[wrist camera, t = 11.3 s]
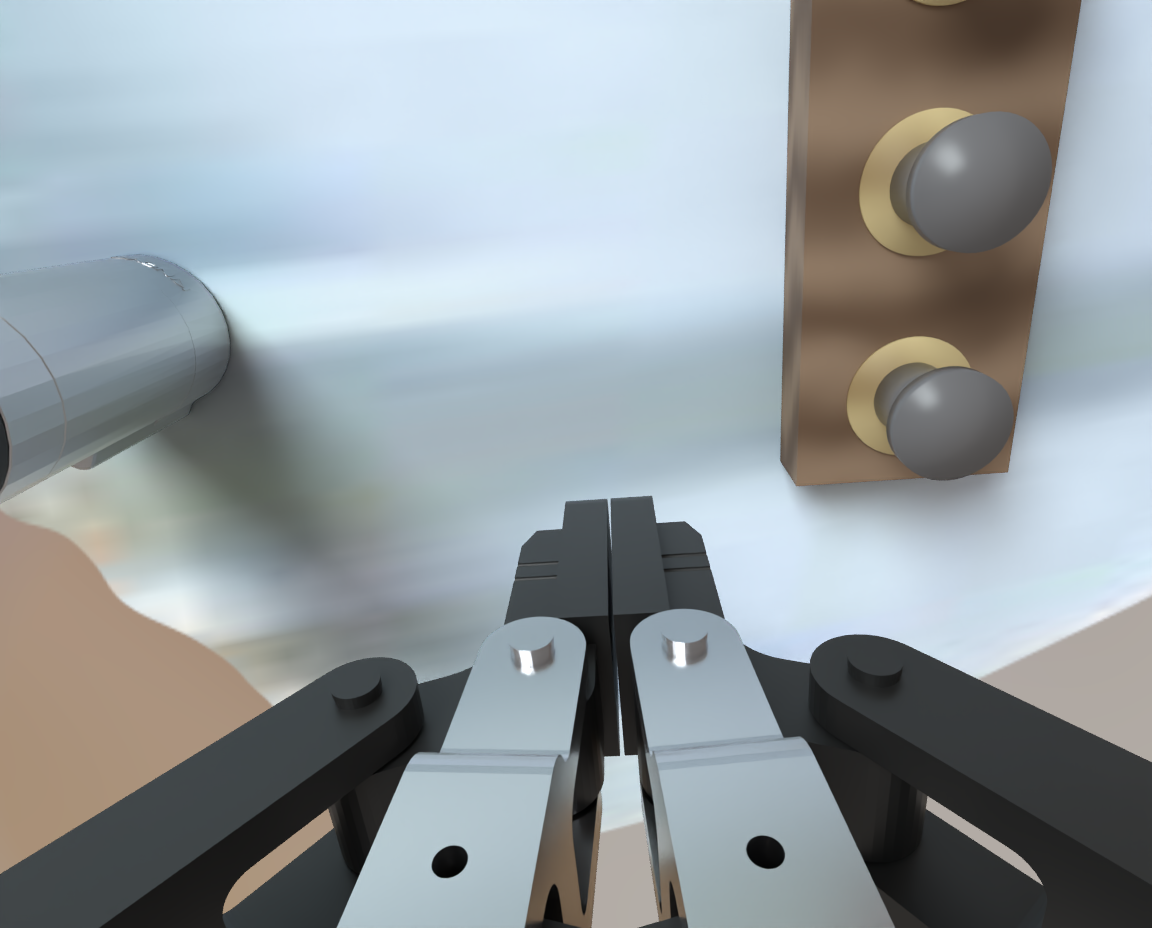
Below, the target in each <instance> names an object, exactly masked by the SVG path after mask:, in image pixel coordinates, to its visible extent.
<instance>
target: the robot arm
mask: <svg viewBox="0 0 1152 928" xmlns="http://www.w3.org/2000/svg"><path fill="white" fill-rule="evenodd" d="M229 354H230V339H229V333H228V327H227V324H226V322H225V319H224V316H223V314H222V311H221V309H220V308H219V306H218V304H217V303H216V301H215V299H214V298H213V296H212V295H211V294H210V292H209V291H208V290H207V289H206V288H205V287H204V285H203V284H202V283H201V282H200V281H199V280H197V279H196V278H195V277H194V276H192V275H191V274H190V273H189V272H188V271H186V270H184V269H183V268H181V267H179V266H177V265H176V264H174V263H172V262H169V261H167V260H164V259H161V258H158V257H154V256H147V255H128V256H116V257H111V258H107V259H100V260H93V261H85V262H78V263H71V264H65V265H58V266H52V267H45V268H38V269H32V270H25V271H18V272H12V273H5V274H0V504H1V503H3V502H5V501H7V500H9V499H11V498H12V497H14V496H16V495H18V494H20V493H22V492H24V491H26V490H27V489H29V488H31V487H33V486H35V485H36V484H38V483H40V482H42V481H44V480H46V479H48V478H49V477H51V476H53V475H55V474H57V473H59V472H61V471H63V470H64V469H66V468H68V467H70V466H72V467H74V468H77V469H80V470H88V469H91V468H94V467H95V466H97V465H99V464H101V463H103V462H104V461H106V460H108V459H110V458H112V457H113V456H115V455H117V454H119V453H121V452H122V451H124V450H126V449H128V448H130V447H131V446H133V445H135V444H137V443H138V442H140V441H142V440H144V439H146V438H147V437H149V436H151V435H153V434H155V433H156V432H158V431H160V430H162V429H164V428H165V427H167V426H169V425H171V424H173V423H174V422H176V421H178V420H180V419H182V418H183V417H185V416H187V415H188V414H189V412H190V408H191V405H192V403H193V402H194V401H195V400H197V399H198V398H200V397H202V396H204V395H205V394H207V393H209V392H210V391H211V390H212V389H213V388H214V387H215V386H216V385H217V384H218V383H219V381H220V379H221V378H222V376H223V374H224V373H225V371H226V367H227V364H228V360H229ZM611 537H612V550H611ZM611 537H610V524H609V512H608V502H607V499H598V500H583V501H567V502H566V503H565V511H564V520H563V528H562V529H558V530H542V531H537V532H536V533H535V534H534V535H533V536H532V537H531V538H530V539H529V540H528V541H527V542H526V543H525V544H524V545H523V546H522V548H521V552H520V557H519V561H518V567H517V570H516V575H515V581H514V583H513V588H512V592H511V597H510V601H509V606H508V610H507V615H506V619H505V624H504V626H502V627H500V628H498V629H497V630H495V631H494V632H492V633H491V634H490V635H489V636H488V637H487V638H486V639H485V640H484V642H483V643H482V645H481V647H480V649H479V652H478V654H477V657H476V660H475V662H474V665H473V666H472V667H471V668H469V669H466V670H464V671H462V672H459V673H456V674H453V675H450V676H447V677H443V678H439V679H436V680H432V681H428V682H425V683H421V684H418V683H417V679H416V675H415V673H414V671H413V670H412V668H411V667H410V666H408V665H407V664H406V663H404V662H402V661H400V660H396V659H392V658H384V657H378V658H367V659H362V660H357V661H354V662H351V663H348V664H345V665H342V666H340V667H338V668H336V669H334V670H332V671H330V672H328V673H327V674H325V675H324V676H322V677H320V678H319V679H317V680H315V681H314V682H312V683H311V684H309V685H307V686H306V687H304V688H302V689H301V690H299V691H297V692H296V693H294V694H293V695H291V696H289V697H288V698H286V699H284V700H283V701H281V702H280V703H278V704H276V705H275V706H273V707H271V708H270V709H268V710H267V711H265V712H263V713H262V714H260V715H259V716H257V717H255V718H254V719H252V720H250V721H249V722H247V723H245V724H244V725H242V726H241V727H239V728H237V729H236V730H234V731H233V732H231V733H229V734H228V735H226V736H224V737H223V738H221V739H219V740H218V741H216V742H214V743H213V744H211V745H210V746H208V747H206V748H205V749H203V750H201V751H200V752H198V753H197V754H195V755H193V756H192V757H190V758H189V759H187V760H185V761H184V762H182V763H180V764H179V765H177V766H175V767H174V768H172V769H171V770H169V771H167V772H166V773H164V774H162V775H161V776H159V777H157V778H156V779H154V780H153V781H151V782H149V783H148V784H146V785H144V786H143V787H141V788H140V789H138V790H136V791H135V792H133V793H132V794H130V795H128V796H127V797H125V798H123V799H122V800H120V801H119V802H117V803H115V804H114V805H112V806H110V807H109V808H107V809H105V810H104V811H102V812H101V813H99V814H97V815H96V816H94V817H92V818H91V819H89V820H88V821H86V822H84V823H83V824H81V825H79V826H78V827H76V828H75V829H73V830H71V831H70V832H68V833H66V834H65V835H63V836H61V837H60V838H58V839H57V840H55V841H53V842H52V843H50V844H48V845H47V846H45V847H44V848H42V849H40V850H39V851H37V852H36V853H34V854H32V855H31V856H29V857H27V858H26V859H24V860H22V861H21V862H19V863H18V864H16V865H14V866H13V867H11V868H9V869H8V870H6V871H4V872H3V873H1V874H0V928H591V926H592V914H593V904H594V893H595V882H596V872H597V871H596V870H597V860H598V850H599V839H600V828H601V817H602V796H601V788H602V785H603V782H604V756H620V739H619V704H618V679H619V691H620V703H621V715H622V727H623V740H624V752H625V755H638V762H639V775H640V789H641V802H642V812H643V818H644V825H645V831H646V838H647V845H648V851H649V858H650V864H651V871H652V877H653V884H654V891H655V897H656V903H657V910H658V917H659V922H656V923H653V924H649V925H646V926H643V927H639V928H1152V762H1150V761H1148V760H1146V759H1143V758H1141V757H1139V756H1137V755H1135V754H1133V753H1131V752H1129V751H1127V750H1125V749H1123V748H1121V747H1118V746H1116V745H1114V744H1112V743H1110V742H1108V741H1106V740H1104V739H1102V738H1100V737H1097V736H1096V735H1093V734H1091V733H1089V732H1087V731H1085V730H1083V729H1081V728H1079V727H1077V726H1075V725H1072V724H1070V723H1068V722H1066V721H1064V720H1062V719H1060V718H1058V717H1056V716H1054V715H1052V714H1050V713H1047V712H1045V711H1043V710H1041V709H1039V708H1037V707H1035V706H1033V705H1031V704H1029V703H1027V702H1024V701H1022V700H1020V699H1018V698H1016V697H1014V696H1012V695H1010V694H1008V693H1006V692H1004V691H1001V690H999V689H997V688H995V687H993V686H991V685H989V684H987V683H984V682H983V681H981V680H978V679H976V678H974V677H972V676H970V675H968V674H966V673H964V672H962V671H960V670H958V669H955V668H953V667H951V666H949V665H947V664H945V663H943V662H941V661H939V660H937V659H935V658H932V657H930V656H928V655H926V654H924V653H922V652H920V651H918V650H916V649H914V648H912V647H909V646H907V645H905V644H903V643H900V642H898V641H895V640H891V639H888V638H884V637H879V636H873V635H845V636H840V637H836V638H833V639H830V640H828V641H826V642H824V643H822V644H821V645H820V646H818V647H817V648H816V649H815V651H814V652H813V654H812V656H811V659H810V664H809V663H803V662H797V661H791V660H785V659H780V658H775V657H771V656H768V655H765V654H762V653H759V652H757V651H755V650H752V649H751V648H749V647H747V646H745V645H744V644H743V642H742V640H741V638H740V635H739V634H738V632H737V630H736V629H735V628H734V627H733V626H732V624H730V623H729V622H728V621H726V620H725V618H724V615H723V611H722V607H721V604H720V600H719V597H718V593H717V590H716V586H715V582H714V579H713V575H712V572H711V570H710V564H709V561H708V557H707V555H706V550H705V546H704V543H703V539H702V536H701V534H699V533H698V532H697V531H696V530H695V529H693V528H692V527H691V526H690V525H689V524H687V523H686V522H685V521H684V522H668V523H656V518H655V511H654V505H653V498H652V496H642V497H627V498H611ZM617 666H618V670H617ZM927 796H929V797H930V798H932V799H933V800H935V801H936V802H938V803H940V804H941V805H943V806H944V807H946V808H948V809H949V810H951V811H952V812H954V813H955V814H957V815H958V816H960V817H962V818H963V819H965V820H966V821H968V822H969V823H971V824H972V825H974V826H976V827H977V828H979V829H980V830H982V831H983V832H985V833H987V834H988V835H990V836H991V837H993V838H994V839H996V840H998V841H999V842H1001V843H1002V844H1004V845H1005V846H1007V847H1009V848H1010V849H1011V850H1013V851H1014V852H1016V853H1017V854H1018V855H1019V856H1021V857H1022V858H1023V859H1024V860H1025V861H1026V862H1027V863H1028V864H1029V865H1030V866H1031V868H1032V869H1033V870H1034V871H1035V872H1036V874H1037V876H1038V877H1039V879H1040V880H1041V882H1042V884H1043V885H1041V884H1040V883H1038V882H1036V881H1035V880H1033V879H1032V878H1030V877H1029V876H1027V875H1026V874H1024V873H1023V872H1021V871H1020V870H1018V869H1017V868H1015V867H1014V866H1012V865H1011V864H1009V863H1007V862H1006V861H1004V860H1003V859H1001V858H1000V857H998V856H997V855H995V854H994V853H992V852H991V851H989V850H987V849H986V848H985V847H983V846H982V845H980V844H978V843H977V842H975V841H974V840H972V839H971V838H969V837H968V836H966V835H965V834H963V833H962V832H960V831H959V830H957V829H956V828H954V827H953V826H951V825H949V824H948V823H946V822H945V821H943V820H942V819H940V818H939V817H937V816H936V815H934V814H933V813H931V812H930V811H928V810H926V803H927ZM326 809H329V813H330V816H331V819H332V823H333V826H334V828H333V829H332V830H331V831H330V832H328V833H327V834H326V835H325V836H323V837H322V838H321V839H320V840H318V841H317V842H316V843H315V844H314V845H312V846H311V847H310V848H308V849H307V850H306V851H305V852H303V853H302V854H301V855H299V856H298V857H297V858H296V859H294V860H293V861H292V862H291V863H289V864H288V865H287V866H286V867H284V868H283V869H282V870H281V871H279V872H278V873H277V874H276V875H274V876H273V877H272V878H271V879H269V880H268V881H267V882H265V883H264V884H263V885H262V886H260V887H259V888H258V889H257V890H255V891H254V892H253V893H252V894H250V895H249V896H248V897H247V898H245V899H244V900H243V901H241V902H240V903H239V904H238V905H237V906H235V907H234V908H233V909H231V910H230V911H228V912H226V913H224V914H222V913H223V906H224V903H225V900H226V898H227V895H228V893H229V892H230V890H231V888H232V887H233V885H234V884H235V883H236V881H237V880H238V879H239V878H240V877H241V876H242V875H243V874H244V873H245V872H246V871H247V870H248V869H250V867H252V866H253V865H255V864H256V863H257V862H259V861H260V860H261V859H262V858H264V857H265V856H266V855H268V854H269V853H270V852H272V851H273V850H274V849H276V848H277V847H278V846H279V845H280V844H282V843H283V842H285V841H286V840H287V839H288V838H290V837H291V836H292V835H294V834H295V833H296V832H298V831H299V830H300V829H302V828H303V827H304V826H306V825H307V824H308V823H309V822H311V821H312V820H313V819H314V818H316V817H317V816H319V815H320V814H321V813H323V812H324V811H325V810H326Z"/></svg>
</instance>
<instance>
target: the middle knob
mask: <svg viewBox="0 0 1152 928" xmlns="http://www.w3.org/2000/svg"><path fill="white" fill-rule="evenodd" d="M1051 176H1052V158H1051V153H1050V149H1049V146H1048V143H1047V141H1046V139H1045V137H1044V135H1043V134H1042V133H1041V131H1040V130H1039V129H1038V128H1037V127H1036V126H1035V125H1034V124H1033V123H1032V122H1030V121H1029V120H1027V119H1026V118H1024V117H1022V116H1020V115H1017V114H1013V113H1010V112H1001V111H999V112H987V113H981V114H976V115H970V116H967V117H964V118H961V119H959V120H956V121H954V122H952V123H950V124H949V125H947V126H945V127H944V128H943V129H941V130H940V131H939V132H937V133H936V134H935V135H934V136H933V137H932V138H931V139H930V140H929V141H928V142H925V143H923V144H920V145H918V146H917V147H915V148H913V149H912V150H911V151H909V152H908V153H907V154H906V155H905V156H904V157H903V158H902V160H901V161H900V162H899V164H898V165H897V167H896V169H895V171H894V173H893V176H892V179H891V183H890V200H891V204H892V207H893V209H894V211H895V213H896V214H897V215H898V216H899V218H900V219H902V220H903V221H904V222H906V223H907V224H910V225H912V226H914V228H915V230H916V231H917V232H918V234H919V235H920V236H921V237H922V238H923V239H925V240H926V241H927V242H929V243H930V244H932V245H934V246H936V247H938V248H941V249H945V250H949V251H954V252H960V253H978V252H984V251H988V250H991V249H994V248H996V247H999V246H1001V245H1003V244H1005V243H1007V242H1008V241H1010V240H1011V239H1013V238H1014V237H1016V236H1017V235H1018V234H1019V233H1020V232H1022V231H1023V230H1024V229H1025V228H1026V227H1027V226H1028V225H1029V224H1030V223H1031V221H1032V220H1033V219H1034V217H1035V216H1036V215H1037V213H1038V212H1039V210H1040V208H1041V207H1042V205H1043V203H1044V200H1045V198H1046V196H1047V193H1048V190H1049V187H1050V182H1051Z"/></svg>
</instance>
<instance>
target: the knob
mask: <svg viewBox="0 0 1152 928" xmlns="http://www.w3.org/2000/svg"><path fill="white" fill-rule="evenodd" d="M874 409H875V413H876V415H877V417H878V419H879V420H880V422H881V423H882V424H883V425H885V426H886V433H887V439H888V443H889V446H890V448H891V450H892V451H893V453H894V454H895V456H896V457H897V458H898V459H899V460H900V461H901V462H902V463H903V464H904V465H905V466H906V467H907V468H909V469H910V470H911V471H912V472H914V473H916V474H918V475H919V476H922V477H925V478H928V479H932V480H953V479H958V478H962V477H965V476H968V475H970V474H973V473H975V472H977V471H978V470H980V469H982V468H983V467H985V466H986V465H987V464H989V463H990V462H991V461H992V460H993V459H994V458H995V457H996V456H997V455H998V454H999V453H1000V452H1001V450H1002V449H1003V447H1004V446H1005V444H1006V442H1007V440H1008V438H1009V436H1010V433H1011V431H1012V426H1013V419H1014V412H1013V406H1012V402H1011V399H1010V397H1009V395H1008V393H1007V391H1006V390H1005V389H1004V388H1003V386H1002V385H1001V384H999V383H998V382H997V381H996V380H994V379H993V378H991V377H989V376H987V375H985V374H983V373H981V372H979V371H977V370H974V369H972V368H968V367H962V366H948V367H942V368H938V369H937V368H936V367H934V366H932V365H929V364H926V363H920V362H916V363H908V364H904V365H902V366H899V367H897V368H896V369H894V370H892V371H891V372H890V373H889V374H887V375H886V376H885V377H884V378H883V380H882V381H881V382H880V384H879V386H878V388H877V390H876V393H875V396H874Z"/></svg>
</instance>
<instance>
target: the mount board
mask: <svg viewBox="0 0 1152 928" xmlns="http://www.w3.org/2000/svg"><path fill="white" fill-rule="evenodd" d="M1080 6H1081V0H791V14H790V58H789V102H788V146H787V190H786V235H785V279H784V323H783V367H782V411H781V456H780V461H781V463H782V464H783V466H784V467H785V469H786V470H787V472H788V474H789V475H790V477H791V478H792V480H793V481H794V483H795V485H796V486H806V485H822V484H837V483H852V482H867V481H883V480H898V479H913V478H925V477H922V476H919V475H918V474H916V473H914V472H912V471H911V470H910V469H909V468H907V467H906V466H905V465H904V464H903V463H902V462H901V461H900V460H899V459H898V458H897V457H896V456H895V454H894V453H893V451H892V450H891V448H890V446H889V443H888V439H887V433H886V426H885V425H883V424H882V423H881V422H880V420H879V419H878V417H877V415H876V413H875V409H874V396H875V393H876V390H877V388H878V386H879V384H880V382H881V381H882V380H883V378H884V377H885V376H886V375H887V374H889V373H890V372H891V371H892V370H894V369H896V368H897V367H899V366H902V365H904V364H908V363H916V362H920V363H926V364H929V365H932V366H934V367H936V368H937V369H938V368H942V367H948V366H962V367H968V368H972V369H974V370H977V371H979V372H981V373H983V374H985V375H987V376H989V377H991V378H993V379H994V380H996V381H997V382H998V383H999V384H1001V385H1002V386H1003V388H1004V389H1005V390H1006V391H1007V393H1008V395H1009V397H1010V399H1011V402H1012V406H1013V412H1014V419H1013V426H1012V431H1011V433H1010V436H1009V438H1008V440H1007V442H1006V444H1005V446H1004V447H1003V449H1002V450H1001V452H1000V453H999V454H998V455H997V456H996V457H995V458H994V459H993V460H992V461H991V462H990V463H989V464H987V465H986V466H985V467H983V468H982V469H980V470H978V471H977V472H975V473H973V474H970V475H974V474H990V473H1005V472H1008V468H1009V461H1010V455H1011V448H1012V442H1013V436H1014V429H1015V423H1016V416H1017V410H1018V404H1019V397H1020V391H1021V384H1022V378H1023V371H1024V365H1025V359H1026V352H1027V346H1028V339H1029V333H1030V327H1031V320H1032V314H1033V307H1034V301H1035V294H1036V288H1037V282H1038V275H1039V269H1040V262H1041V256H1042V250H1043V243H1044V237H1045V230H1046V224H1047V217H1048V211H1049V205H1050V198H1051V192H1052V185H1053V179H1054V173H1055V166H1056V160H1057V153H1058V147H1059V140H1060V134H1061V128H1062V121H1063V115H1064V108H1065V102H1066V96H1067V89H1068V83H1069V76H1070V70H1071V63H1072V57H1073V51H1074V44H1075V38H1076V31H1077V25H1078V19H1079V12H1080ZM999 111H1001V112H1010V113H1013V114H1017V115H1020V116H1022V117H1024V118H1026V119H1027V120H1029V121H1030V122H1032V123H1033V124H1034V125H1035V126H1036V127H1037V128H1038V129H1039V130H1040V131H1041V133H1042V134H1043V135H1044V137H1045V139H1046V141H1047V143H1048V146H1049V149H1050V153H1051V158H1052V176H1051V182H1050V187H1049V190H1048V193H1047V196H1046V198H1045V200H1044V203H1043V205H1042V207H1041V208H1040V210H1039V212H1038V213H1037V215H1036V216H1035V217H1034V219H1033V220H1032V221H1031V223H1030V224H1029V225H1028V226H1027V227H1026V228H1025V229H1024V230H1023V231H1022V232H1020V233H1019V234H1018V235H1017V236H1016V237H1014V238H1013V239H1011V240H1010V241H1008V242H1007V243H1005V244H1003V245H1001V246H999V247H996V248H994V249H991V250H988V251H984V252H978V253H960V252H954V251H949V250H945V249H941V248H938V247H936V246H934V245H932V244H930V243H929V242H927V241H926V240H925V239H923V238H922V237H921V236H920V235H919V234H918V232H917V231H916V230H915V228H914V226H912V225H910V224H907V223H906V222H904V221H903V220H902V219H900V218H899V216H898V215H897V214H896V213H895V211H894V209H893V207H892V204H891V200H890V183H891V179H892V176H893V173H894V171H895V169H896V167H897V165H898V164H899V162H900V161H901V160H902V158H903V157H904V156H905V155H906V154H907V153H908V152H909V151H911V150H912V149H913V148H915V147H917V146H918V145H920V144H923V143H925V142H928V141H929V140H930V139H931V138H932V137H933V136H934V135H935V134H936V133H937V132H939V131H940V130H941V129H943V128H944V127H945V126H947V125H949V124H950V123H952V122H954V121H956V120H959V119H961V118H964V117H967V116H970V115H976V114H981V113H987V112H999Z"/></svg>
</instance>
